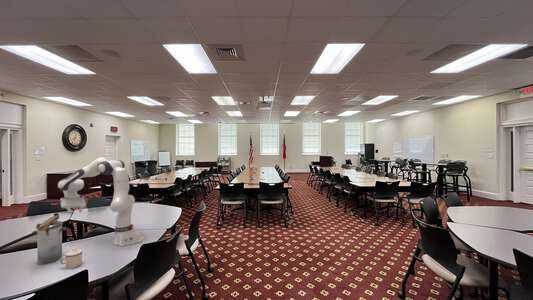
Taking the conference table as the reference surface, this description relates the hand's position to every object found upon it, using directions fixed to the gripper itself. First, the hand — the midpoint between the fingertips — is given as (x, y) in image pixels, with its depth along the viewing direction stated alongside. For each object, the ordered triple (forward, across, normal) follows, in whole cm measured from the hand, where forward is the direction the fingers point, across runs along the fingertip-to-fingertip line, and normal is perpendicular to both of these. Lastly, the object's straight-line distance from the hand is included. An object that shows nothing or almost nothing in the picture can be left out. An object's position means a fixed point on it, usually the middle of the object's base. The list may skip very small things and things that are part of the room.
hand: (75, 212), depth 199 cm
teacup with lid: (+48, -29, -14) cm, 57 cm away
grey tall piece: (+34, -25, +5) cm, 43 cm away
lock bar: (+13, -31, -8) cm, 34 cm away
